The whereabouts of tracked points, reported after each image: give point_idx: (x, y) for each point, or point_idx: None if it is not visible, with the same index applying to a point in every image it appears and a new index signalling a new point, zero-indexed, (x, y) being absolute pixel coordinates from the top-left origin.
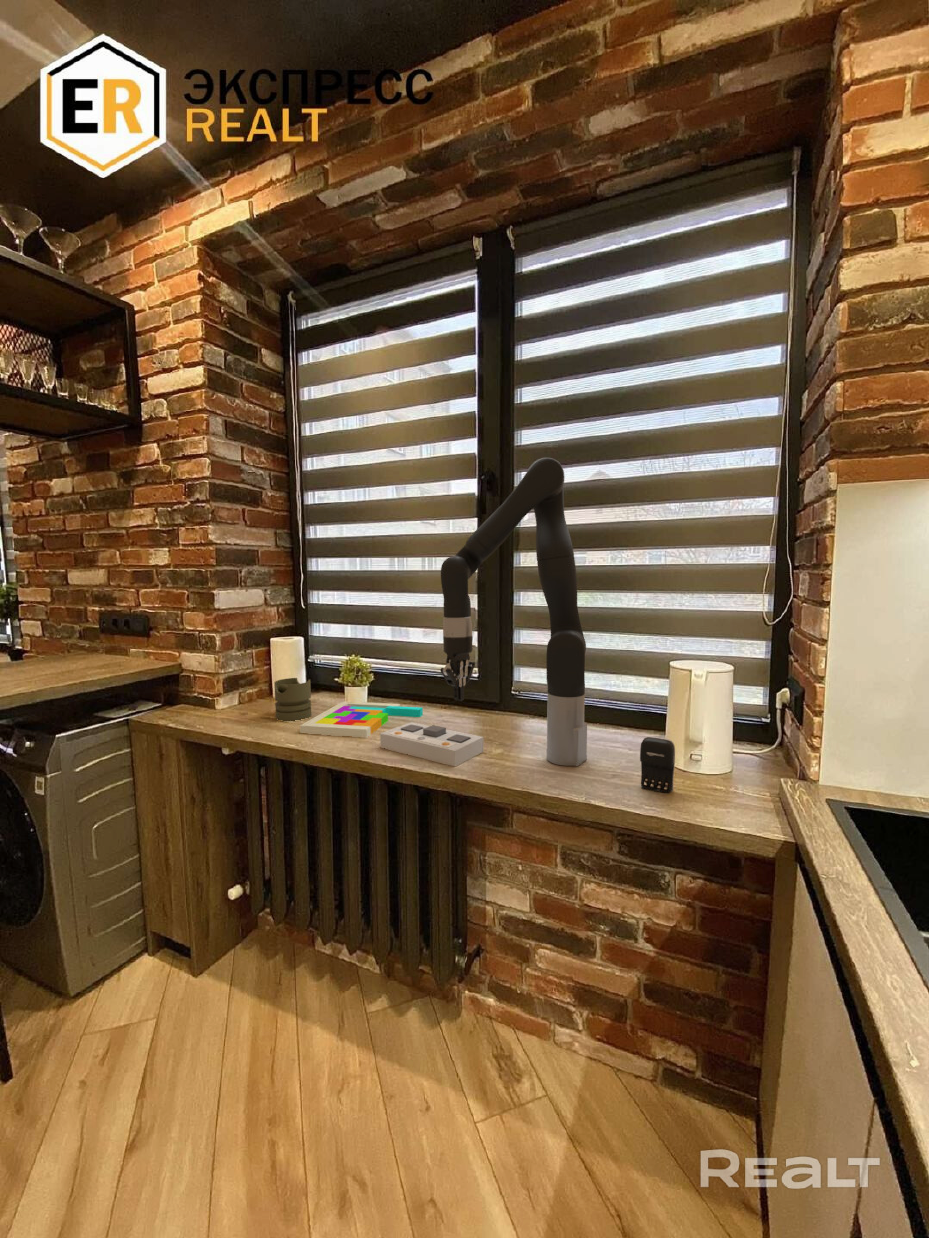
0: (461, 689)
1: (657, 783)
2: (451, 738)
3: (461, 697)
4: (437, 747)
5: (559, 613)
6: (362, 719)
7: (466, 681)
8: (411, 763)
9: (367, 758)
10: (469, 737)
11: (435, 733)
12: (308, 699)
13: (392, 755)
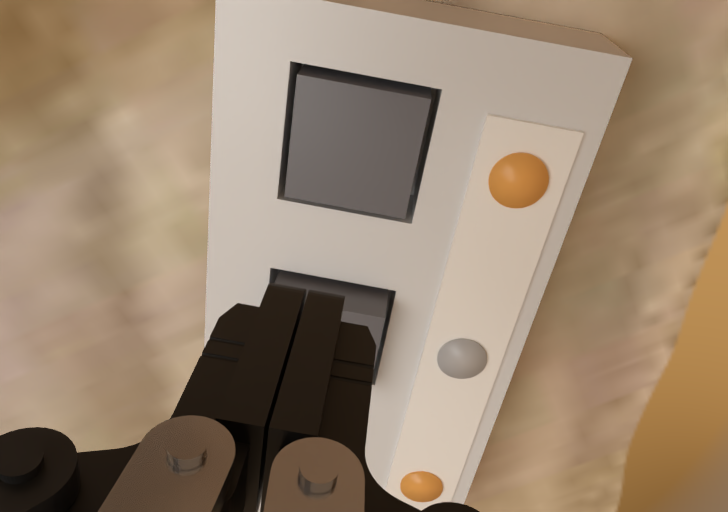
0: (300, 398)
1: None
2: (390, 192)
3: (326, 313)
4: (572, 210)
5: None
6: None
7: (76, 462)
8: (613, 287)
9: (600, 473)
10: (307, 77)
11: (385, 314)
12: None
13: (526, 405)
